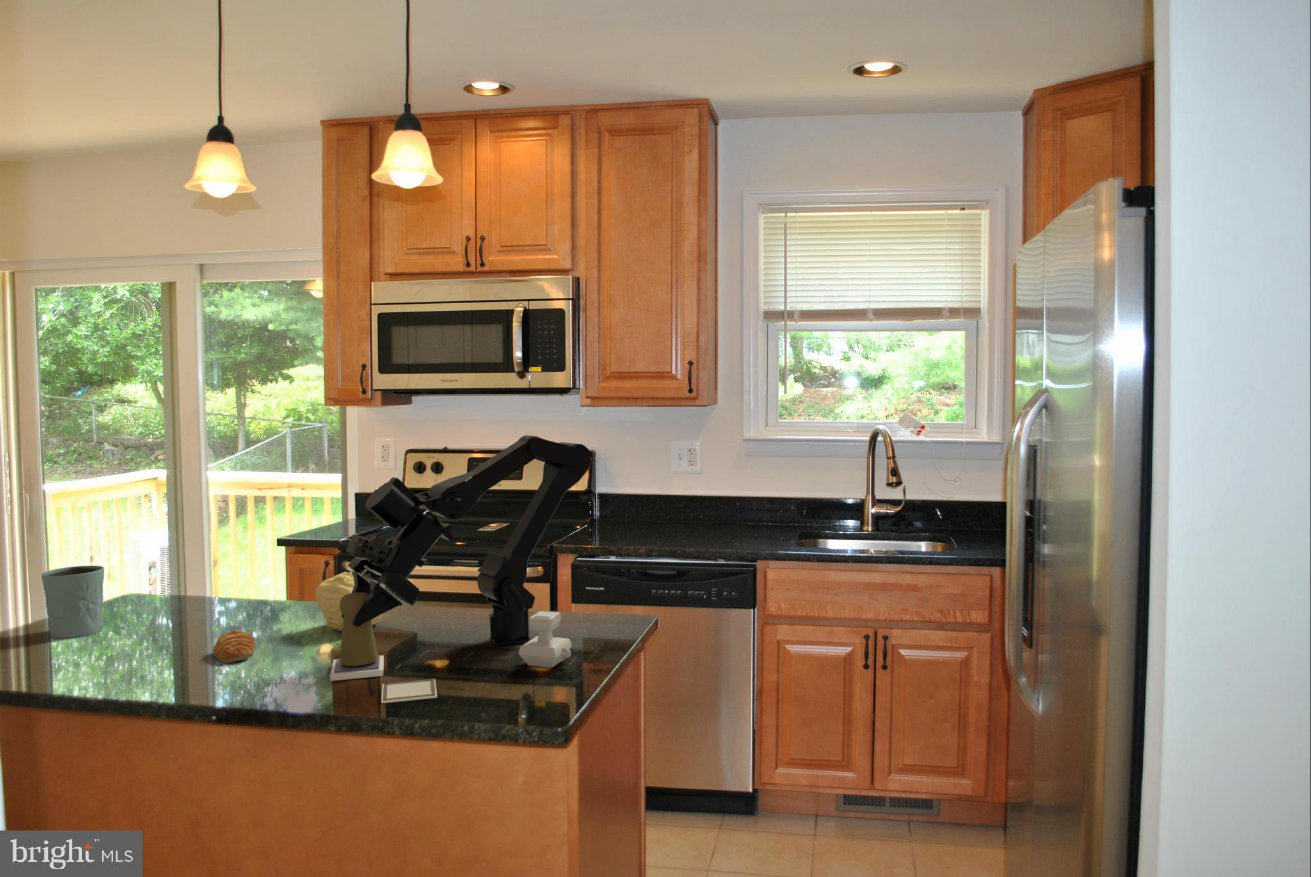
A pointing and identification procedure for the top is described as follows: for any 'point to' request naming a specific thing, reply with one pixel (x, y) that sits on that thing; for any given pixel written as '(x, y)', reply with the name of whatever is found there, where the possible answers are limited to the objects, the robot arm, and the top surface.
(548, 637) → the stamp
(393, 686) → the white flat square piece
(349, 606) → the brown peg figure
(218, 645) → the pastry
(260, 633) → the top surface
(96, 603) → the grey cup
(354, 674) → the ink pad
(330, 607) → the sculpture
